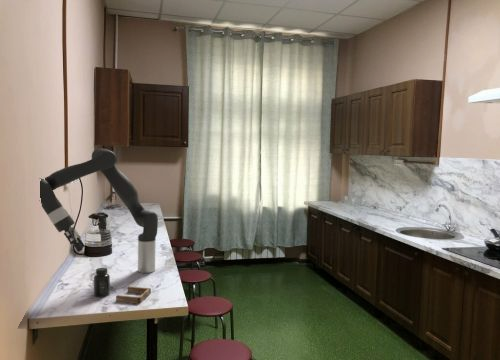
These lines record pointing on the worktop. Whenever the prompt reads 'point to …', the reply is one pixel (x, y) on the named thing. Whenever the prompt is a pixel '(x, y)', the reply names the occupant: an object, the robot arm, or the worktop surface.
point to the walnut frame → (131, 299)
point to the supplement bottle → (101, 283)
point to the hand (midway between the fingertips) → (82, 249)
